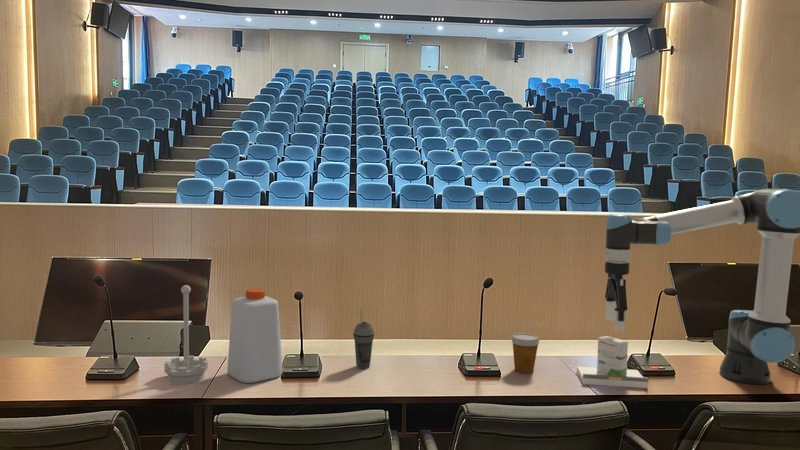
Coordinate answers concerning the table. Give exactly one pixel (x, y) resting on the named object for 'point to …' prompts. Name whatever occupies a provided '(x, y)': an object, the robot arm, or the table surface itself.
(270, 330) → the plastic bottle
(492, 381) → the table surface
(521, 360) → the disposable coffee cup
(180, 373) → the flag stand
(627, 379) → the white slab
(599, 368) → the ink box
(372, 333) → the beverage cup
